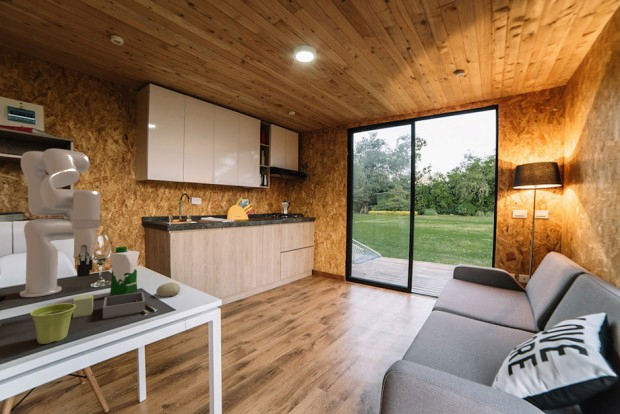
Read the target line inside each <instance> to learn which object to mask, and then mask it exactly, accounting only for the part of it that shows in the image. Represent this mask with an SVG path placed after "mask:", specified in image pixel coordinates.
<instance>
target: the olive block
mask: <svg viewBox="0 0 620 414" xmlns="http://www.w3.org/2000/svg"><path fill="white" fill-rule="evenodd" d="M72 304H75V305H76V307H75V308H74V310H73V313H72V318H73V319H74V318H80V317H87V316H92V314H93V311H94V293H91V294H90V293H89V294H82V295H75V296H74V298H73V301H72Z"/></svg>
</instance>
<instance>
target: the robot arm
mask: <svg viewBox="0 0 620 414" xmlns="http://www.w3.org/2000/svg"><path fill="white" fill-rule="evenodd" d="M89 167H90V159H89V157H88V155H86V154H85V153H84V152H80V151H76V150H71V149H70V150H69V149H63V148H62V149H61V148H48V149H46V150H44V151H39V150H37V151H35V150H33V151H32V150H31V151H25V152H24V153H23V154H22V155H21V158H20V168H21V171H22V173H23V175H24V177H25V180H26V181H27V194H28V195H27V196H28V197H27V199H28V201H27V202H28V203H27V204H28V210H29V212H30V214H31V215H33V216H38V217H39V216H40V217H41V216H43V217H45V216H47V217H49V216H50V217H51V216H54V217H58V216H59V217H60V216H61V217H63V218H36V219H32V220H29V221H27V222H26V223H25V224H24V226H23V233H24V238H25V246H26V257H25V259H26V261H25V263H26V264H25V289H24V290H22V291H20V292H19V296H20V297H22V298H36V297H43V296H48V295H53V294H57V293H59V292H61V291H62V286H60V285H58V259H59V256H58V255H59V250H58V249H57V247H56V246H55V245H54V244H53V243H52V241H64V240H73V239H74V242H73V256H72V257H73V258H74V259H77V258H78V260H77V265H76V269H77V270H76V277H78V278H82V277H89V276H90V273H91V272H90V271H93V255H94V253H95V247H96V246H95V244H96V230H99V229H100V228H101V227H100V223H101V222H100V219H101V217H100V216H101V193H100V192H99V191H97V190H91V189H66V188H65V189H64V188H63V187H68V186H70V185H73V184H75V183H76V182H78V180H79V179H80V174H83V173H85V172H87V171H88V170H89ZM47 173H48V174H47Z"/></svg>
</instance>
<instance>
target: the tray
mask: <svg viewBox="0 0 620 414" xmlns="http://www.w3.org/2000/svg"><path fill="white" fill-rule="evenodd" d="M136 300H137V301H139V302H133V301H136ZM132 302H133V303H132ZM143 310H145V311H146V299H145V294H144V291H139V292H138V291H137V292H134V293H131V294H123V295H110V296H109V295H108V296H104V301H103V306H102V320H107V319H113V318H118V317H123V316H129V315H130V316H131V315H136V314H142V313H143V312H142V311H143ZM141 312H142V313H141Z"/></svg>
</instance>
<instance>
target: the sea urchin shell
mask: <svg viewBox="0 0 620 414" xmlns="http://www.w3.org/2000/svg"><path fill="white" fill-rule="evenodd" d="M180 291H181V286H180V285H179V284H178V283H176V282H166V283H163V284H161V285H159V286H158V287H157V289H156V295H157V296H159V297H161V298H168V297H174V296H176V295H178V294H179V293H180Z"/></svg>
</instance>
